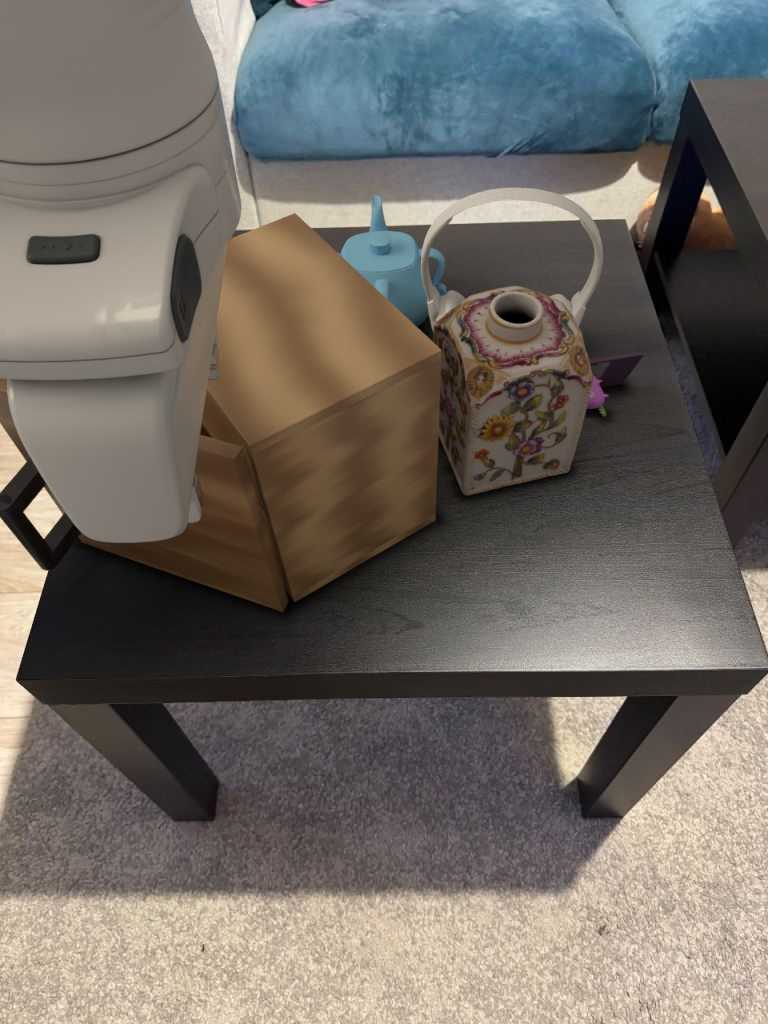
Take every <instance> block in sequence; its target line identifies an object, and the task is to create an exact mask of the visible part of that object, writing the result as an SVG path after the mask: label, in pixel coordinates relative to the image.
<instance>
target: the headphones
mask: <svg viewBox="0 0 768 1024" xmlns="http://www.w3.org/2000/svg"><path fill="white" fill-rule="evenodd" d="M504 201H526V202H528V201H529V202H537V203H542V204H547V205H551V206H553V207H558V208H560V209H562V210H564V211H567V212H569V213H570V214H572V215H574V216H575V217H577V218H578V220H579V222H580V224H581V226H582V228H583V229H584V230H585V231H586V232H587V234H588V236H589V238H590V240H591V242H592V246H593V251H594V256H593V257H594V258H593V264H592V267H591V270H590V273H589V275H588V277H587V280H586V282H585V284H584V286H583V287H582V289H581V290H578V291H577V292H576V293H575V294H574V295H573V296H572V297H571V299H570V300H569V299H567V297H565V296H564V295H563V294H561V293H556V294H552V295H550V296H549V297H551V298H553V299H556V300H558V301H561V302H562V303H564V305H565V306H566V307H567V309H568V310H569V311H570V312H571V314H572V315H573V317H574V319H575V321H576V322H577V324H578V327H579V328H580V326H581V324H582V321H583V318H584V316H585V312H586V310H587V304H588V303H589V301H590V299H591V297H592V296H593V294H594V292H595V290H596V288H597V286H598V284H599V282H600V277H601V274H602V270H603V265H604V264H603V263H604V249H603V243H602V238H601V235H600V231H599V228H598V227H597V224H596V221H594V219H593V217H592V216H591V215H590V214H589V212H587V211H586V210H585V209H584V208H583V207H582V206H581V205H580V204H578V203H577V202H575V201H573V200H572V199H570V198H568V197H566V196H564V195H561V194H559V193H556V192H554V191H553V192H552V191H549V190H544V189H540V188H532V187H500V188H491V189H486V190H482V191H479V192H475V193H473V194H470V195H467V196H464V197H463V198H461V199H458V200H457V201H456V202H453V203H452V204H450V205H448V207H447V208H445V209H444V210H443V211H442V212H441V213H440V214H439V215H438V216H437V217H436V218H435V220H433V222H432V223H431V225H430V227H429V228H428V231H427V232H426V235H425V238H424V240H423V243H422V248H421V249H422V255H421V275H422V281H423V286H424V289H425V293H426V296H427V305H428V312H429V315H428V317H429V320H430V321H429V322H430V326H431V330H432V333H433V334H434V325H435V323H436V322H437V321H438V320H440V319H441V318H442V317H443V316H444V315H445V314H446V313H448V312H449V311H450V310H451V309H453V308H455V307H456V306H457V305H459V304H460V303H462V302H463V301H464V300H465V299H466V298H465V297H464V296H463V294H461V293H460V292H458V291H456V290H449V291H447V292H446V295H443V296H441V297H440V294H439V292H438V291H439V289H436V287H435V286H433V285H432V278H431V274H430V269H429V259H430V258H429V253H430V249H431V248H433V244H434V242H435V240H436V239H437V237H438V236H439V235H440V233H441V232H442V231H443V230H444V229H445V228H446V227H447V226H448V225H449V224H450V223H451V221H452V220H453V218H454V216H456V215H458V214H459V213H462V212H464V211H466V210H468V209H470V208H473V207H477V206H481V205H484V204H489V203H495V202H504Z"/></svg>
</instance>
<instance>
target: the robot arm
mask: <svg viewBox="0 0 768 1024" xmlns="http://www.w3.org/2000/svg"><path fill="white" fill-rule="evenodd" d="M221 90H222V89H221V85H220V81H219V75H218V70H217V67H216V63H215V59H214V55H213V53H212V51H211V47H210V46H209V44H208V42H207V39H206V37H205V36H204V33H203V32H202V29H201V27H200V24H199V22H198V20H197V17H196V15H195V11H194V8H193V3H192V1H191V0H0V379H7V395H8V403H9V408H10V412H11V415H12V419H13V422H14V425H15V427H16V430H17V432H18V435H19V437H20V439H21V441H22V443H23V445H24V447H25V449H26V451H27V452H28V454H29V456H30V457H31V459H32V461H33V463H34V464H35V466H36V468H37V469H38V471H39V473H40V474H41V476H42V478H43V479H44V481H45V482H46V484H47V486H48V487H49V489H50V490H51V492H52V493H53V495H54V496H55V498H56V499H57V501H58V502H59V504H60V505H61V507H62V508H63V510H64V511H65V513H66V514H67V515H68V517H69V518H70V519H71V521H72V522H73V523H74V525H75V526H76V527H77V528H78V529H79V530H80V531H81V533H83V534H84V535H85V536H87V537H88V538H91V539H93V540H96V541H101V542H111V543H138V542H152V541H159V540H165V539H170V538H173V537H176V536H178V535H180V534H181V533H183V532H184V531H185V529H186V527H187V523H195V522H198V521H199V520H200V518H201V512H202V505H203V495H204V493H203V490H202V489H201V484H200V481H199V478H198V476H197V475H194V473H195V466H196V459H197V452H198V445H199V439H200V432H201V425H202V418H203V411H204V404H205V397H206V390H207V383H208V380H215V379H217V378H218V377H219V374H220V368H221V361H222V354H221V349H220V345H219V341H218V337H217V335H218V334H217V315H218V308H219V301H220V294H221V287H222V280H223V273H224V266H225V260H226V253H227V246H228V241H229V240H230V239H231V238H233V236H234V235H235V232H236V230H237V228H238V226H239V224H240V221H241V216H242V208H243V207H242V198H241V192H240V188H239V182H238V178H237V172H236V167H235V166H236V165H235V162H234V156H233V151H232V146H231V140H230V134H229V129H228V124H227V119H226V114H225V106H224V102H223V97H222V91H221Z"/></svg>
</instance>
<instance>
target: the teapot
mask: <svg viewBox="0 0 768 1024" xmlns="http://www.w3.org/2000/svg"><path fill="white" fill-rule="evenodd" d="M370 206H371V217H370V225H369V230H368V232H363V233H358V234H355V235H352V236H351V237H349V238H347V240H346V242H344V245H343V247H342V249H341V252H340V253H339V252H337V253H338V254H339V255H340V256H342V257H343V258H344V259H345V260H346V261H347V262H348V263H349V264H350V265H351V266H352V267H353V268H354V269H355V270H357V271H358V272H359V273H360V274H361V275H362V276H363V277H364V278H365V279H366V280H367V281H368V282H369V283H370V284H371V285H373V286H374V287H375V288H376V289H377V290H378V291H379V292H380V293H381V294H382V295H383V296H384V297H385V298H386V299H387V300H389V301H390V302H391V303H392V304H393V305H394V306H395V307H396V308H397V309H398V310H399V311H400V312H401V313H402V314H403V315H405V316H406V317H407V318H408V319H409V320H410V321H411V322H412V323H413V324H414V325H415V326H416V327H417V328H419V327H420V326H421V325H422V324H423V323H424V322H425V320H426V319H427V318H428V317H429V312H428V305H427V296H426V293H425V289H424V286H423V281H422V275H421V255H422V248H420V247H419V245H418V243H417V242H416V241H415V239H414V238H413V236H412V235H410V234H408V233H405V232H401V231H393V230H388V227H387V223H386V220H385V216H384V215H385V214H384V209H383V202H382V199H381V197H380V196H379V195H378V194H374V195H373V196H372V197H371V201H370ZM429 259H433V260H435V261H437V267H436V270H435V273H434V275H433V277H432V278H431V281H432V285H433V286H435V287H436V289H437V290H438V292H439V294H440V297H441V296H443V295H446V293H447V292H448V290H447V289H448V288H447V286H446V285H445V284H444V283H443V282H440V281H441V279H442V277H443V274H444V272H445V268H446V260H445V257H444V255H443V254H442V252H440V250H438V249H436V248H434V247H431V249H430V253H429Z"/></svg>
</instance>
